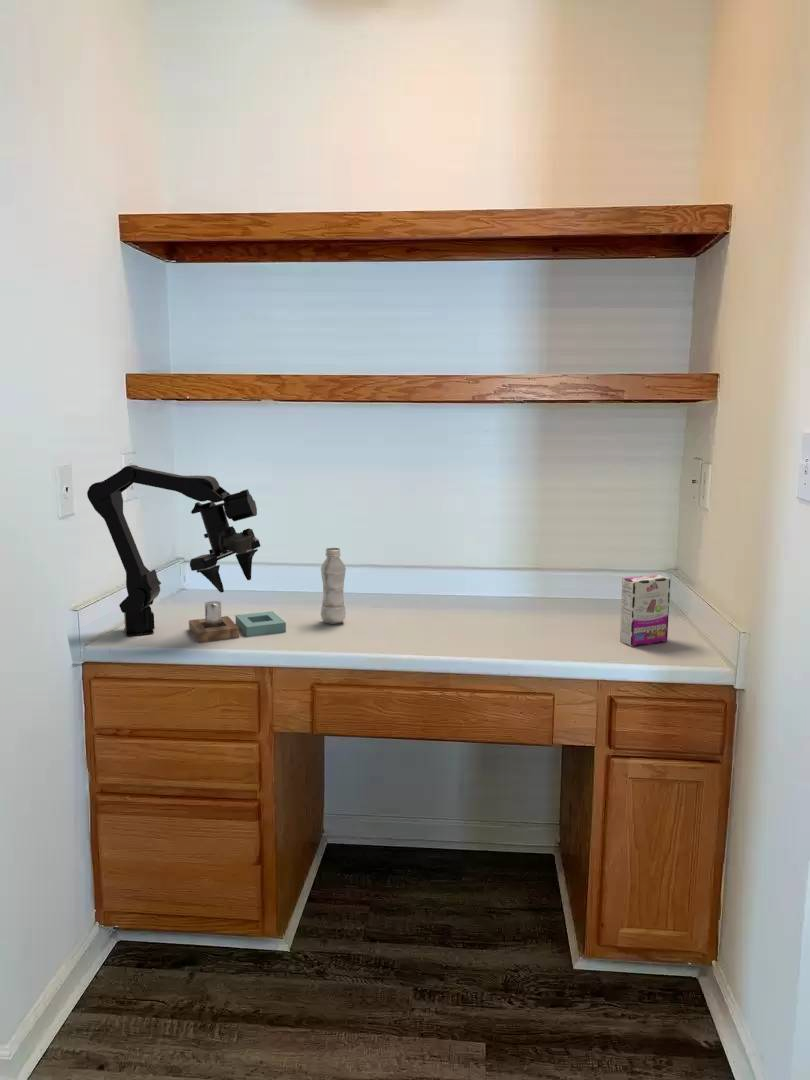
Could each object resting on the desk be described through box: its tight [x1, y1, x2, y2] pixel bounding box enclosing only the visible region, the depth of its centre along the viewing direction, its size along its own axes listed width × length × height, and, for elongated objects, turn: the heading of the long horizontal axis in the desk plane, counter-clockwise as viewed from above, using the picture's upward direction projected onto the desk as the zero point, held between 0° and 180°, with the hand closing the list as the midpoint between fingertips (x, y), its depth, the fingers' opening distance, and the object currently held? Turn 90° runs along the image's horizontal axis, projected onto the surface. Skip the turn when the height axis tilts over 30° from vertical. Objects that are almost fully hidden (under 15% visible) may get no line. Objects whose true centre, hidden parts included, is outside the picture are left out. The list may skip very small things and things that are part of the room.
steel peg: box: [204, 600, 222, 628], centre depth 198 cm, size 4×4×8 cm
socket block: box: [188, 615, 240, 644], centre depth 199 cm, size 10×12×2 cm
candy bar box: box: [619, 574, 671, 647], centre depth 194 cm, size 11×5×16 cm, turn 112°
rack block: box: [235, 611, 287, 638], centre depth 204 cm, size 10×12×2 cm
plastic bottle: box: [320, 547, 347, 624], centre depth 208 cm, size 6×7×20 cm
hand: (236, 586), depth 196 cm, fingers open, 9 cm apart
